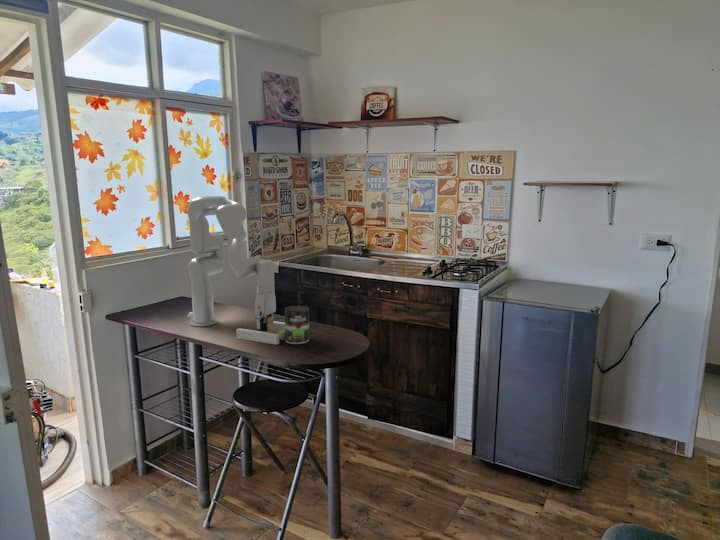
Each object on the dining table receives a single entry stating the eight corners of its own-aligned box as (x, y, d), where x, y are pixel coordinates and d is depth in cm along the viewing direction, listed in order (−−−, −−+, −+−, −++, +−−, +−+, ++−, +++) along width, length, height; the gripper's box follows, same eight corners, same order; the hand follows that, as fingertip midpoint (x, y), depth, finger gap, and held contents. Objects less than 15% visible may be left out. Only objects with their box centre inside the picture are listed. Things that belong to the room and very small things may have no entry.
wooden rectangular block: (260, 336, 216) (260, 317, 214) (266, 333, 220) (265, 315, 218) (284, 340, 212) (284, 320, 210) (289, 337, 215) (289, 318, 213)
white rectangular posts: (236, 338, 213) (236, 329, 212) (259, 327, 229) (259, 319, 228) (276, 344, 206) (276, 335, 205) (297, 332, 221) (297, 324, 220)
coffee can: (311, 343, 208) (310, 310, 205) (286, 345, 205) (285, 312, 202) (307, 335, 217) (307, 304, 215) (284, 337, 215) (283, 305, 212)
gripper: (269, 284, 222) (270, 323, 226) (246, 292, 207) (248, 334, 211) (283, 285, 219) (284, 325, 223) (262, 293, 204) (263, 336, 208)
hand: (266, 329), depth 217 cm, fingers closed on wooden rectangular block, 4 cm apart
